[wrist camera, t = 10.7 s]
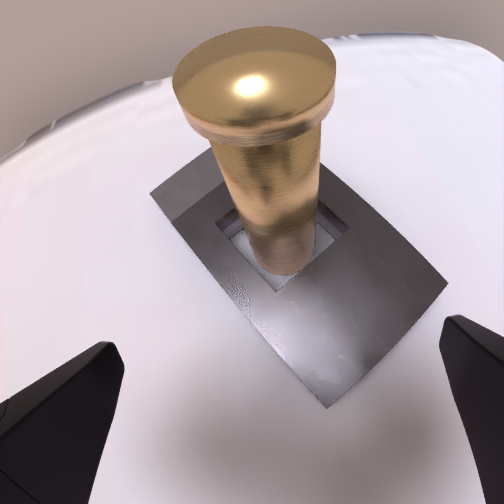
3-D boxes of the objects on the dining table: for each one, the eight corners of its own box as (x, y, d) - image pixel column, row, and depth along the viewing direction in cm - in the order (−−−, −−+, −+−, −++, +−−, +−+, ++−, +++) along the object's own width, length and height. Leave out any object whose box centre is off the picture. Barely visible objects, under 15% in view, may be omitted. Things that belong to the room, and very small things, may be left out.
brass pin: (335, 248, 20) (369, 63, 7) (279, 296, 20) (236, 146, 7) (286, 201, 22) (261, 15, 9) (233, 244, 21) (147, 75, 8)
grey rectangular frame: (429, 296, 18) (448, 283, 15) (322, 403, 17) (326, 408, 14) (252, 133, 25) (246, 107, 22) (157, 203, 24) (140, 182, 21)
